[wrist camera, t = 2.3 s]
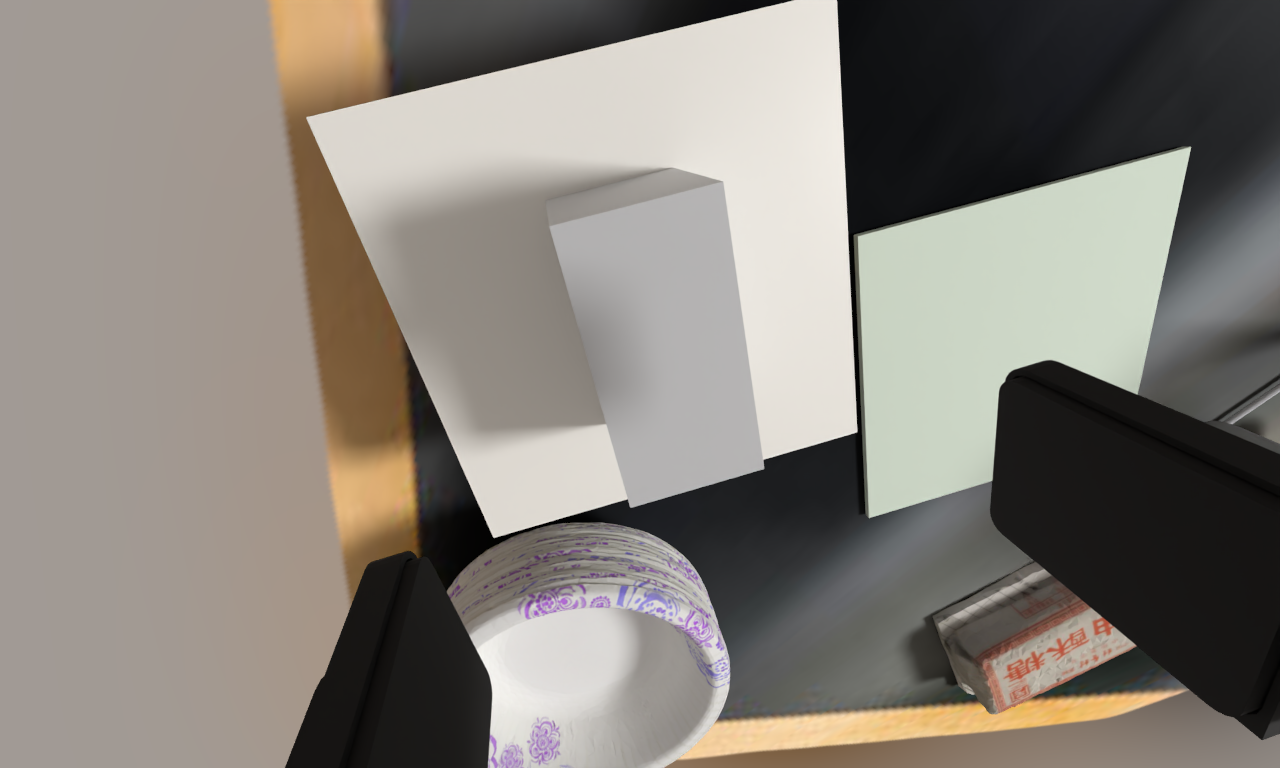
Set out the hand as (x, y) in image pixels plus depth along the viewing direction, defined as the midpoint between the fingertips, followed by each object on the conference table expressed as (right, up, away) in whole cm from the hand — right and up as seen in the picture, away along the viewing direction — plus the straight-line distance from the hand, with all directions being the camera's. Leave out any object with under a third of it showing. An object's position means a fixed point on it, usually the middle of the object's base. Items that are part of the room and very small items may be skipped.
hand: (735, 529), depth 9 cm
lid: (-2, +6, +12) cm, 13 cm away
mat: (+20, +4, +23) cm, 30 cm away
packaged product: (+30, -14, +34) cm, 47 cm away
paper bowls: (-6, -10, +25) cm, 28 cm away
